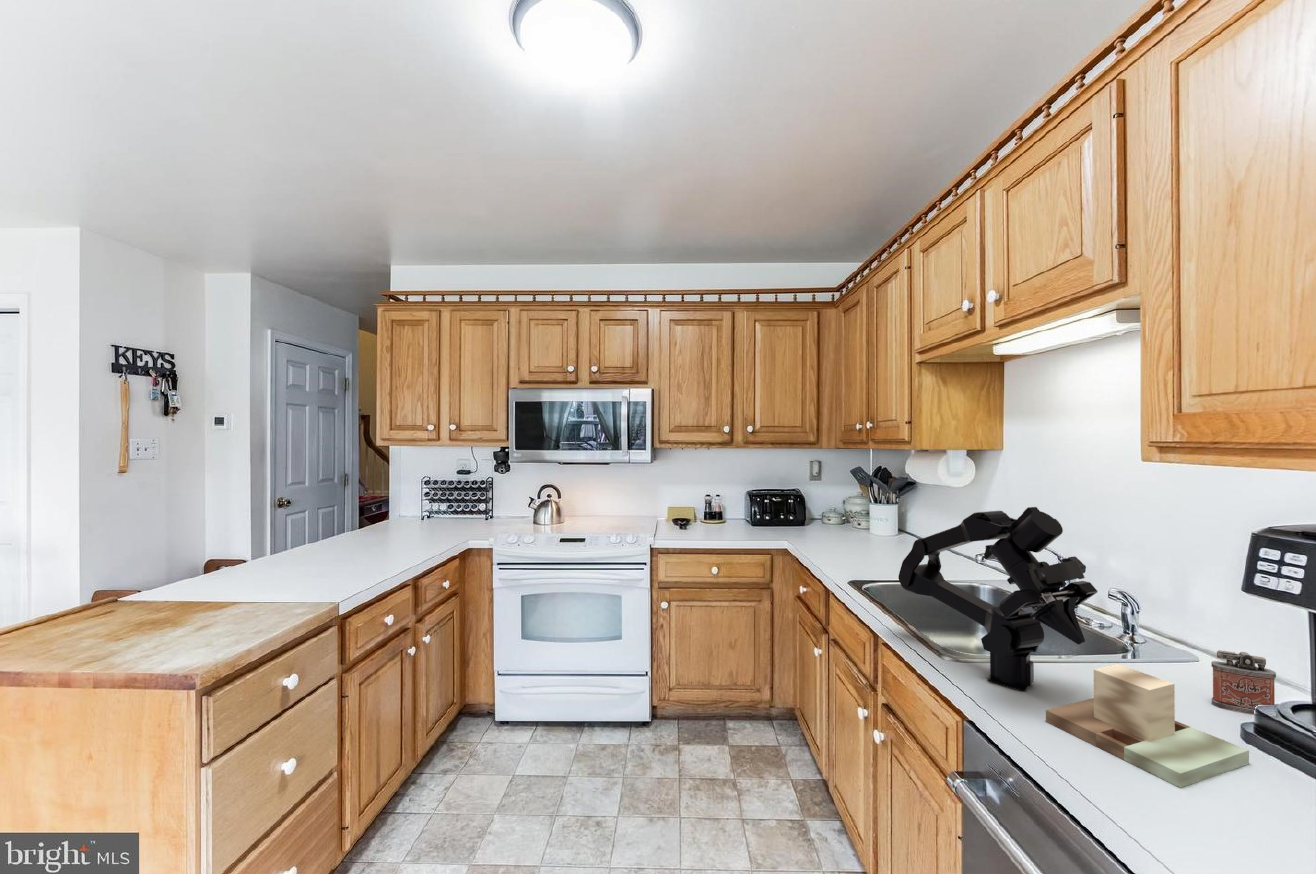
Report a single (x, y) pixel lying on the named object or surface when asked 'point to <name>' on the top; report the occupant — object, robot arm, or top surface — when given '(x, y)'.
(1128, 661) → the top surface
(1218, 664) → the lighter
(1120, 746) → the board
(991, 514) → the robot arm
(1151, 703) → the maple block
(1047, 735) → the top surface
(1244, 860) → the top surface
